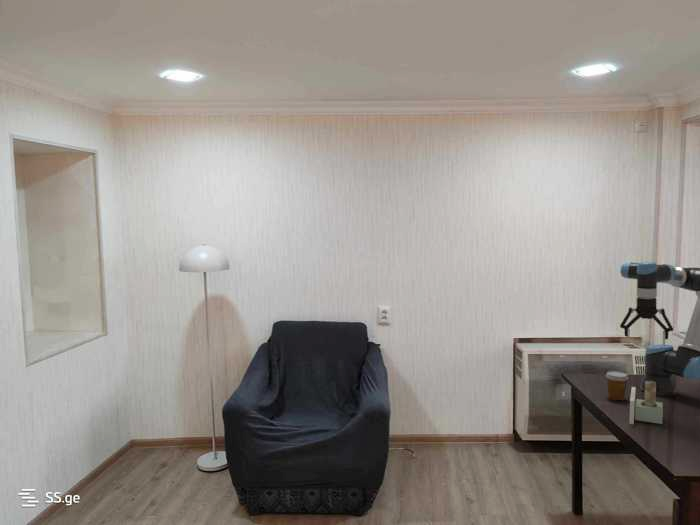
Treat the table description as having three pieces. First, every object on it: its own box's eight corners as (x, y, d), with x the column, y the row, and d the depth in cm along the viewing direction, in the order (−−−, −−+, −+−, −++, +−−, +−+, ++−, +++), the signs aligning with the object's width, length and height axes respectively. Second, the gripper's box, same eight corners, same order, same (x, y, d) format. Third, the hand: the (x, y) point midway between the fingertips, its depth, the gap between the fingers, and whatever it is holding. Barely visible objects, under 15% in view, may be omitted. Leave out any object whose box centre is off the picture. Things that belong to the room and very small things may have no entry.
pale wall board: (635, 408, 235) (635, 387, 235) (633, 424, 218) (634, 401, 217) (631, 408, 236) (631, 386, 235) (629, 423, 219) (630, 400, 218)
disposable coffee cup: (625, 396, 252) (626, 371, 251) (629, 402, 243) (630, 377, 242) (604, 394, 255) (604, 370, 254) (606, 400, 246) (607, 375, 245)
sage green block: (661, 416, 226) (662, 402, 225) (662, 424, 217) (662, 410, 217) (635, 412, 231) (636, 398, 230) (634, 419, 222) (635, 406, 222)
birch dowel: (650, 416, 226) (651, 380, 225) (656, 420, 222) (658, 383, 221) (641, 417, 226) (643, 381, 224) (648, 420, 222) (649, 384, 220)
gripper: (679, 297, 226) (678, 345, 228) (614, 294, 238) (614, 340, 240) (681, 300, 219) (679, 349, 221) (614, 297, 231) (613, 344, 233)
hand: (645, 345), depth 231 cm, fingers open, 13 cm apart
